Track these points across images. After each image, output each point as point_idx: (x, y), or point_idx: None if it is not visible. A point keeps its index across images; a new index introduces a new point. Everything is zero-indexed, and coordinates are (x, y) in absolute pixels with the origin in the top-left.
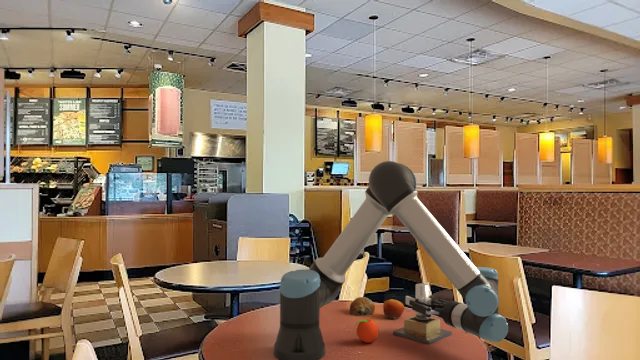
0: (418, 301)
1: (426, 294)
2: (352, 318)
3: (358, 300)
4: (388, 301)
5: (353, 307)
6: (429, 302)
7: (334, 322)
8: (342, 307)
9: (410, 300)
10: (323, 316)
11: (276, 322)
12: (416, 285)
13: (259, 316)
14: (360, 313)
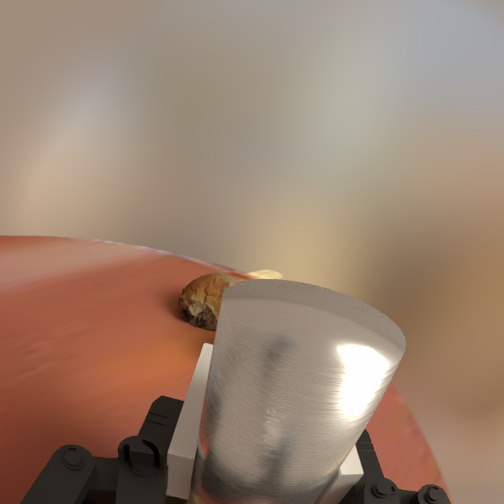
0: (144, 481)
1: (294, 465)
2: (148, 321)
3: (201, 280)
4: None
5: (183, 293)
6: (326, 494)
7: (81, 310)
8: None
9: (170, 401)
10: (109, 286)
11: (20, 260)
12: (224, 295)
13: (40, 244)
14: (187, 317)
